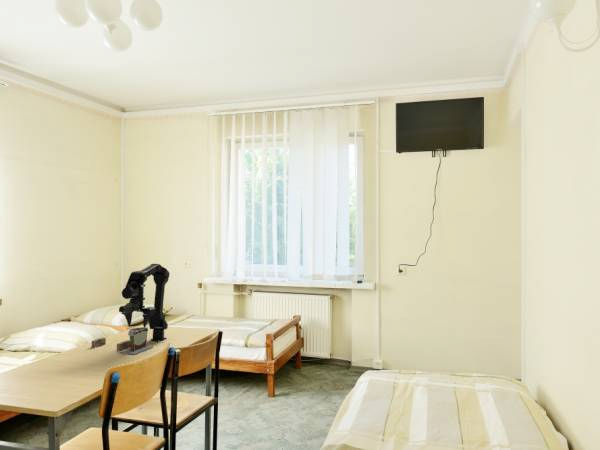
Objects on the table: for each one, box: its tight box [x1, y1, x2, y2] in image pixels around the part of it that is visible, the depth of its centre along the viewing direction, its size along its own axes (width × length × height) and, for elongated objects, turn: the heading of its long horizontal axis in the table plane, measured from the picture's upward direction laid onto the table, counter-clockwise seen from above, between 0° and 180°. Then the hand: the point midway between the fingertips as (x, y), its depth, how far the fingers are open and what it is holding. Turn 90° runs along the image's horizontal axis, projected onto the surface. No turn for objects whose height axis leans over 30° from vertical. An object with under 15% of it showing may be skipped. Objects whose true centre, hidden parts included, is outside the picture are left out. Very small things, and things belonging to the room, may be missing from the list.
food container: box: [127, 326, 149, 351], centre depth 236 cm, size 12×6×10 cm, turn 162°
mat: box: [119, 345, 154, 356], centre depth 234 cm, size 15×9×1 cm, turn 162°
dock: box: [91, 337, 130, 352], centre depth 239 cm, size 8×18×4 cm, turn 72°
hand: (136, 326), depth 234 cm, fingers open, 9 cm apart
